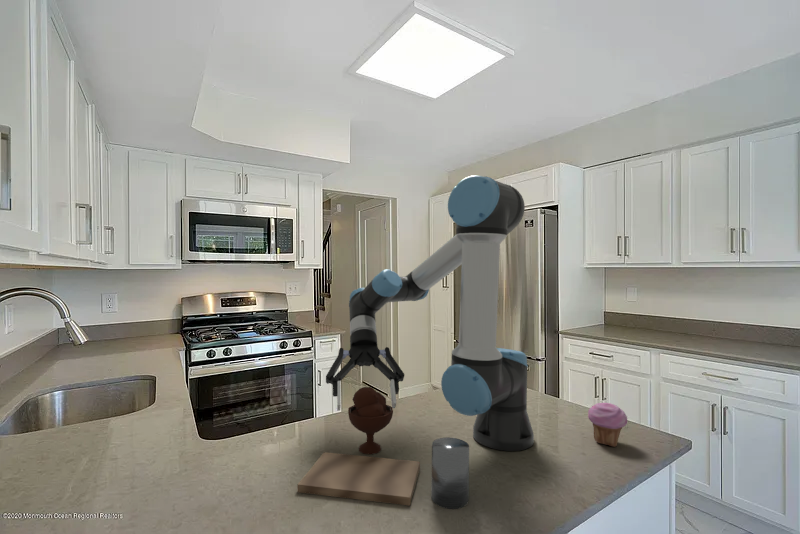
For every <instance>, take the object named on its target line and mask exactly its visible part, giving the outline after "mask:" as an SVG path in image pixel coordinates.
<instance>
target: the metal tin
mask: <svg viewBox="0 0 800 534" xmlns="http://www.w3.org/2000/svg"><path fill="white" fill-rule="evenodd" d="M469 480H470V445H469V443H468V442H466V441H465V440H463V439H460V438H456V437H450V436H449V437H447V436H446V437H440V438H436V439H434V440H433V441H432V443H431V486H430V487H431V491H430V493H431V494H430V495H431V501H432V502H433V504H435V505H436V506H439V507H440V508H443V509H449V510H456V509H457V510H458V509H463V508H464V507H466V506H468V504H469V499H470V498H469V497H470V496H469V495H470V493H469V491H470V490H469V485H470V481H469Z"/></svg>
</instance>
